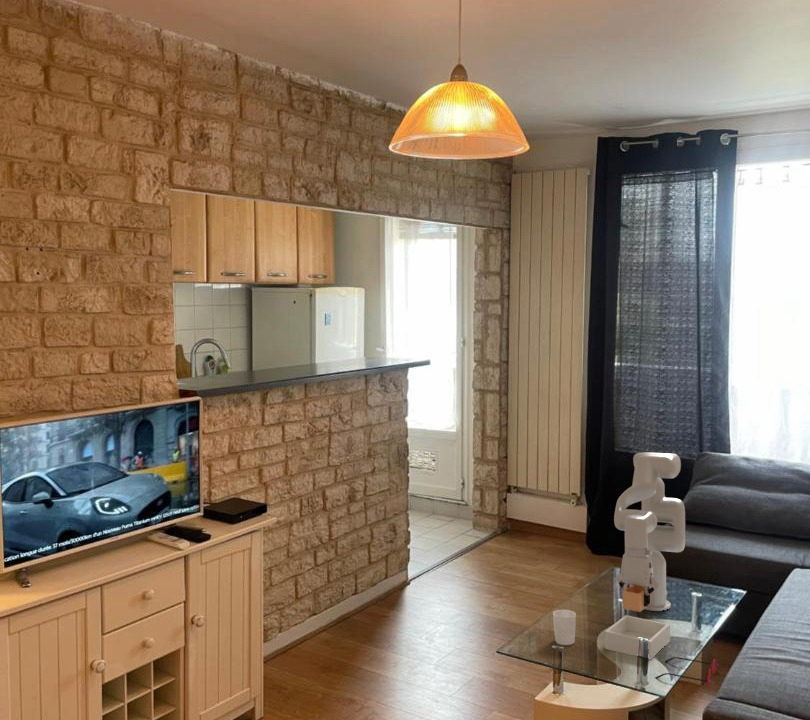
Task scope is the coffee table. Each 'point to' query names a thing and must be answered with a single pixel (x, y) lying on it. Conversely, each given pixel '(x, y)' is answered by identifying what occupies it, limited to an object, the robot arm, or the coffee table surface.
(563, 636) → the white cup
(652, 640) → the box
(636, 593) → the orange crate
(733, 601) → the coffee table surface
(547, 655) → the coffee table surface
